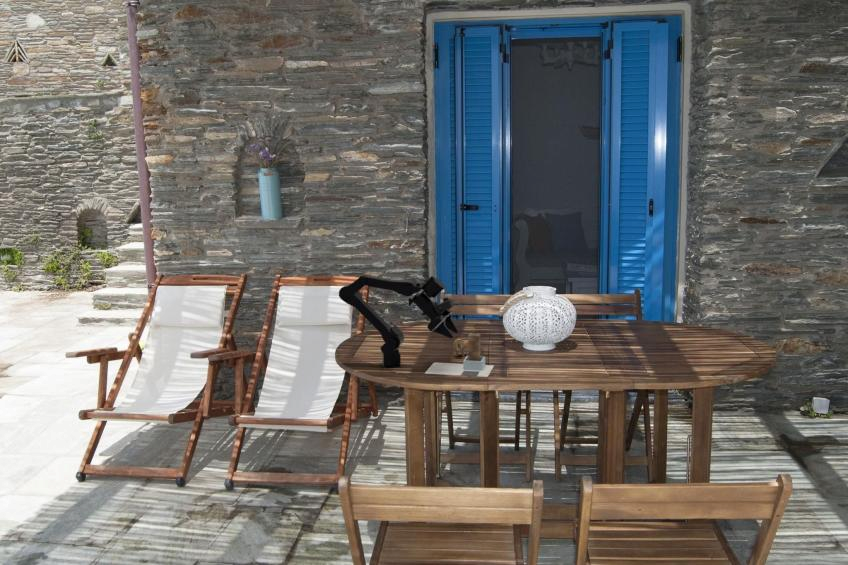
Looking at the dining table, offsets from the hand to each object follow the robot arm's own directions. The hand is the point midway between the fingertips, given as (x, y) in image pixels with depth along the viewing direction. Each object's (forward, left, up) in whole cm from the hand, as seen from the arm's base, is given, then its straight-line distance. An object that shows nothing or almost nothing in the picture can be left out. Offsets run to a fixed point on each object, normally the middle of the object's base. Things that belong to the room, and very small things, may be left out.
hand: (455, 335), depth 302 cm
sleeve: (+7, -3, -13) cm, 15 cm away
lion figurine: (+8, +16, -14) cm, 23 cm away
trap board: (+1, -4, -14) cm, 14 cm away
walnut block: (+7, -3, -13) cm, 15 cm away
